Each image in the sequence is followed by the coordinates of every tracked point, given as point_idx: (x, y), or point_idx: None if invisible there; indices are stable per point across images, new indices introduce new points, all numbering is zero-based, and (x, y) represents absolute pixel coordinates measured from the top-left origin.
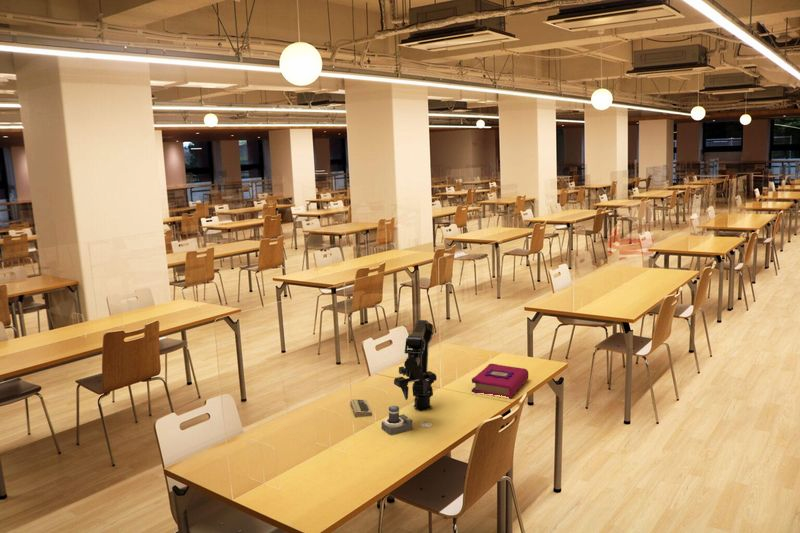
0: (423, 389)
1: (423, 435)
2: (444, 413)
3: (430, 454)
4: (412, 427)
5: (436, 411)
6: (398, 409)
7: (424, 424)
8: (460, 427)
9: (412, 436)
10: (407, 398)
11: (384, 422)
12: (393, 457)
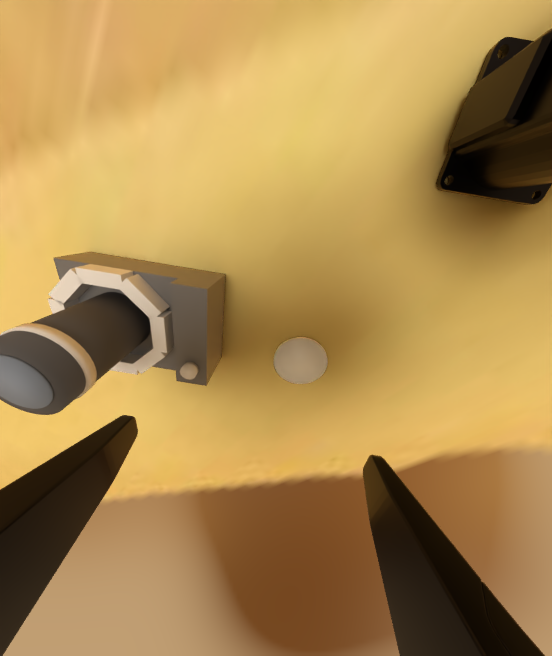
0: (412, 547)
1: (228, 412)
2: (487, 317)
3: (176, 486)
4: (217, 362)
5: (491, 266)
6: (63, 407)
7: (292, 359)
8: (383, 444)
9: (187, 395)
10: (122, 457)
11: (54, 300)
12: None
